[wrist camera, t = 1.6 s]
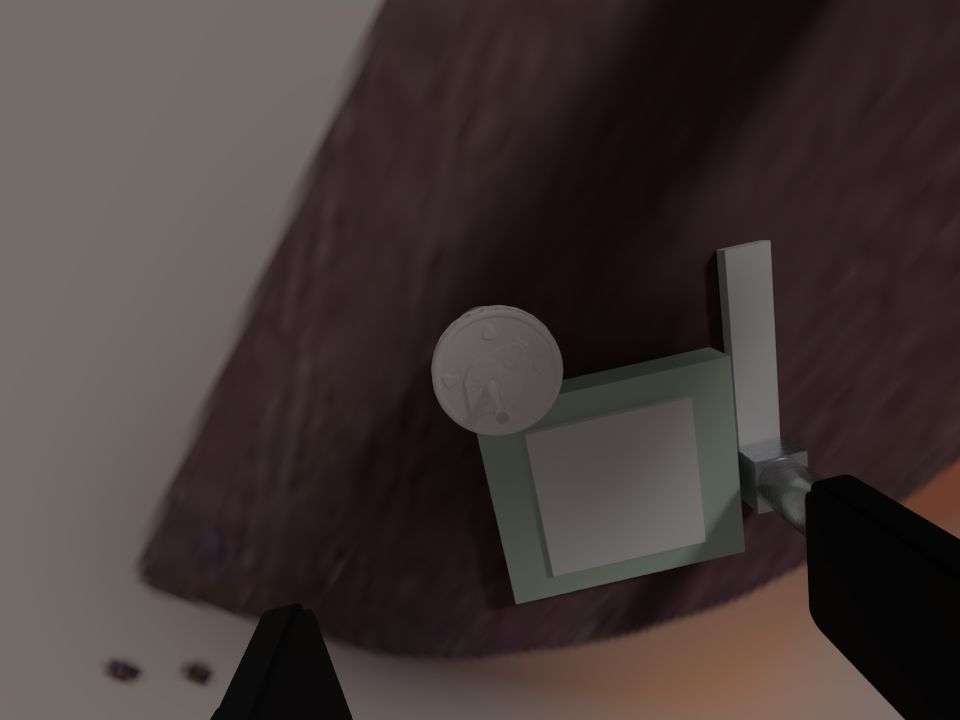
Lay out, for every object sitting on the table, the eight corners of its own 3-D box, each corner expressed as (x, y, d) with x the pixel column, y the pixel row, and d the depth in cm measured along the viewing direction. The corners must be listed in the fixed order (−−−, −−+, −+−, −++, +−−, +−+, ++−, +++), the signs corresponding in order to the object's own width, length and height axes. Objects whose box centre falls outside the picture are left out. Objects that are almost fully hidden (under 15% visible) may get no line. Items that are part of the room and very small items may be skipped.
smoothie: (416, 348, 33) (396, 433, 19) (467, 265, 31) (486, 293, 18) (496, 396, 34) (531, 507, 20) (549, 318, 33) (623, 380, 19)
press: (449, 309, 32) (449, 317, 29) (760, 240, 32) (791, 241, 29) (511, 580, 38) (517, 609, 35) (775, 519, 38) (803, 543, 35)
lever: (735, 450, 35) (884, 563, 23) (789, 437, 35) (966, 544, 23) (738, 499, 36) (883, 631, 24) (791, 487, 36) (961, 612, 24)
